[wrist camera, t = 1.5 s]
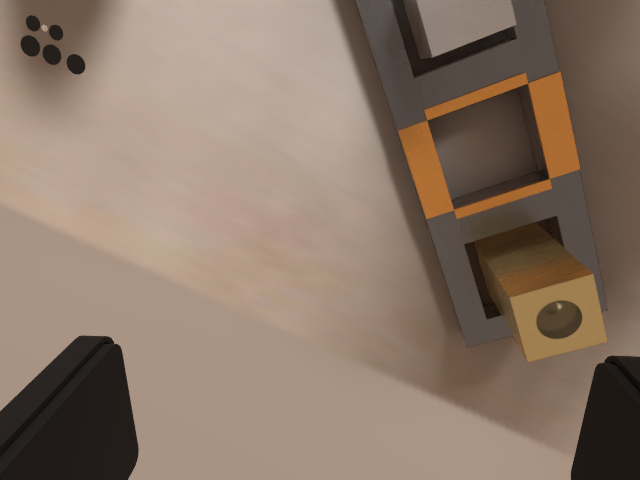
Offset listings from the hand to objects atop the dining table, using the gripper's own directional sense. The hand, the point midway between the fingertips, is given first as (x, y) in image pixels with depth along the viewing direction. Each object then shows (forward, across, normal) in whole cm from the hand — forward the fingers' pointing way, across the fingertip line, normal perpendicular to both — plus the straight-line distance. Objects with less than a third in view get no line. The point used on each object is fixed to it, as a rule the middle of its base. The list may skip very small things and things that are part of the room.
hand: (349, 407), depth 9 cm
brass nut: (+22, -10, +6) cm, 25 cm away
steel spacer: (+22, -5, -9) cm, 24 cm away
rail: (+22, -8, -2) cm, 23 cm away
